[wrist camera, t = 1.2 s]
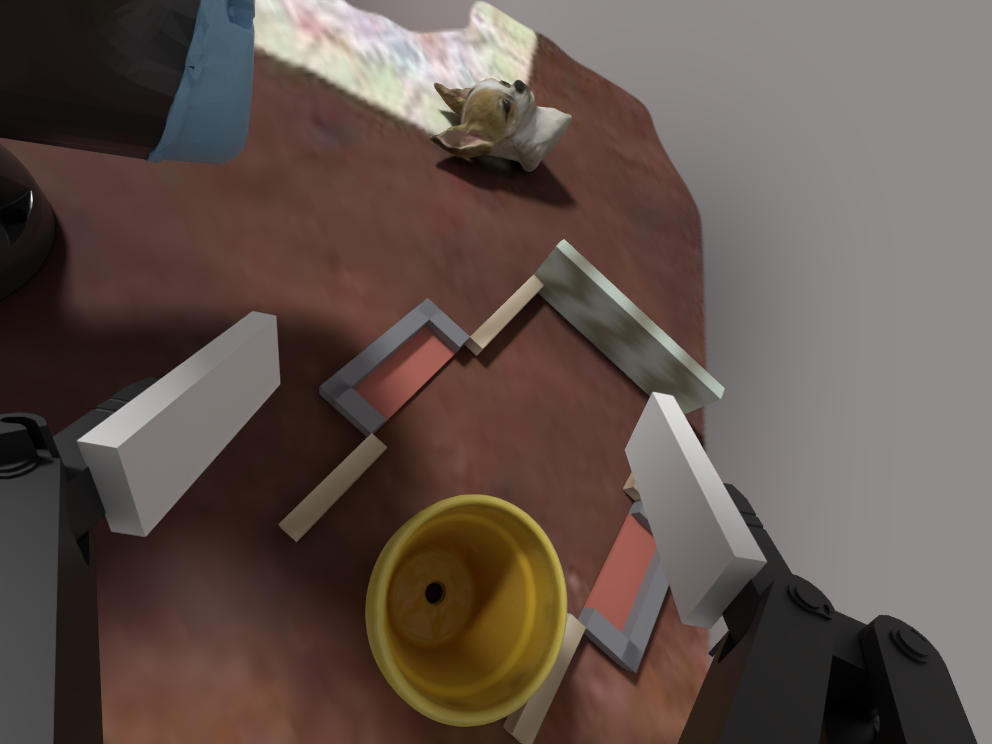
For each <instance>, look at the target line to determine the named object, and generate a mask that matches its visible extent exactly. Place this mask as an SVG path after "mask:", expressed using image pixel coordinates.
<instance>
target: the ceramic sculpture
mask: <svg viewBox="0 0 992 744" xmlns="http://www.w3.org/2000/svg"><path fill="white" fill-rule="evenodd" d="M434 86H435V89H436V90H437V92H438V93H439V94H440V96H441V97H442V99H443V100H444V101H445V103H446V104H447V105H448V106H449V107H450V108H451V110H452V111H453V112H455V113H457V114H459V115H461V125H458V126H452V127H450V128H449V129H447V130H446V131H444V132H443V133H441V134H439V135H435V136H430V140H431V141H433V142H434V143H435V144H437V145H438V146H440V147H441V148H443V149H444V150H446V151H448V152H450V153H452V154H454V155H456V156H458V157H461V158H471V157H477V156H481V155H489V156H493V157H501V158H506V159H510V160H515V161H518V162H519V163H520V164H521V166H522V168H523V169H524V170H525V171H527V172H531V171H533V170H535V169H536V167H537V166H538V165H539V163H540V161H541V160H542V159H543V158H544V157H545V156H546V155H547V154H548V153H550V152H551V151H552V150H553V149H554V148H555V146H556V145H557V143H558V142H559V141H560V139H561V137H562V136H563V134H564V133H565V131H566V129H567V127H568V126H569V124H570V123H571V120H572V116H571V115H569V114H564V113H562V112H560V111H558V110H556V109H554V108H545V107H537V106H536V103H535V97H534V95H533V92H532V91H530V89H529V87H528V86H527V85H526V84H524V83H523V82H522V81H520V80H517V81H515V82H514V83H513V84H512V85H510V84H509V83H507V82H505V81H502V80H501V81H497V80H495V79H492V78H491V79H486V80H483V81H481V82H479V83H477V84H475V85H474V86H473V87H472V88H465V89H463V90H461V89H452V90H450V89H448V88H446V87H444V86H443V85H441V84H439V83H435V84H434Z"/></svg>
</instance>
